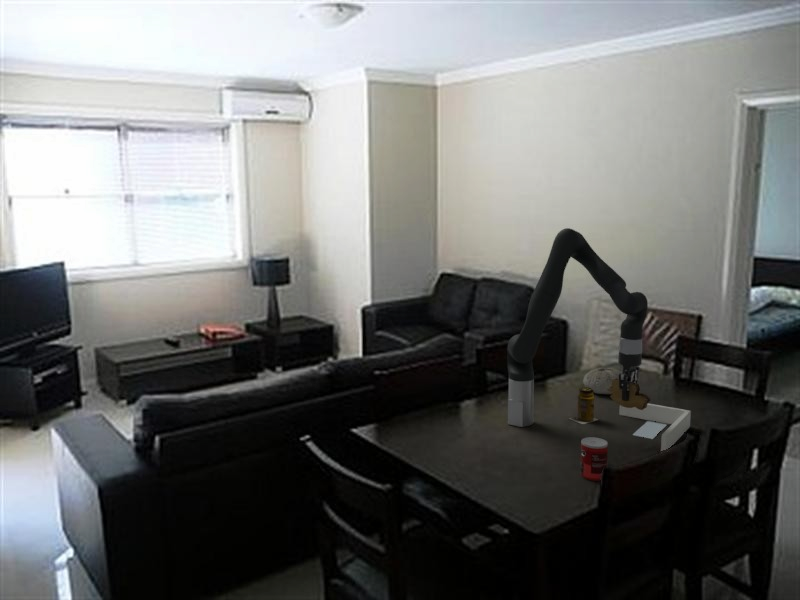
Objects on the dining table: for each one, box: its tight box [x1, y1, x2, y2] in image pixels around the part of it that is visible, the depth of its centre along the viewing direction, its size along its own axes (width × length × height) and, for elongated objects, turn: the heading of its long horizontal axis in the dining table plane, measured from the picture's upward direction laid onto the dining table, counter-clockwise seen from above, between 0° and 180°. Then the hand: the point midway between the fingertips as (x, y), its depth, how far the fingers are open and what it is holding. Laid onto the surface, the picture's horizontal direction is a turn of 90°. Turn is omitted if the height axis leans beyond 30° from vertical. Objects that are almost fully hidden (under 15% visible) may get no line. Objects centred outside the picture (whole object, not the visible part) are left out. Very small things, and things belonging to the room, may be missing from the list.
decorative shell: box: [582, 367, 622, 395], centre depth 293 cm, size 18×18×10 cm
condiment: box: [568, 386, 599, 425], centre depth 259 cm, size 7×8×12 cm
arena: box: [618, 403, 692, 452], centre depth 246 cm, size 30×26×6 cm
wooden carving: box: [607, 378, 651, 410], centre depth 237 cm, size 16×5×10 cm, turn 39°
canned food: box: [580, 436, 609, 482], centre depth 210 cm, size 8×8×11 cm
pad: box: [632, 420, 668, 440], centre depth 248 cm, size 17×7×1 cm, turn 143°
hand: (627, 398), depth 238 cm, fingers closed on wooden carving, 4 cm apart
